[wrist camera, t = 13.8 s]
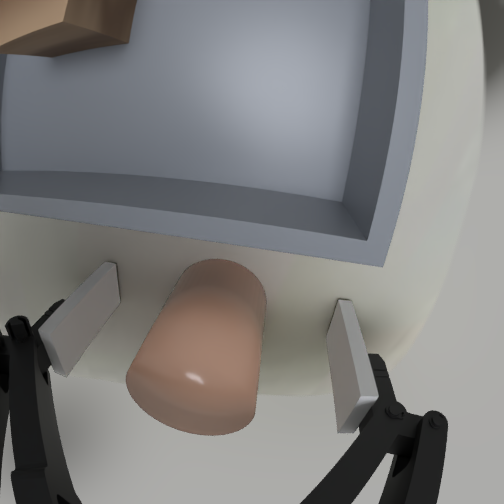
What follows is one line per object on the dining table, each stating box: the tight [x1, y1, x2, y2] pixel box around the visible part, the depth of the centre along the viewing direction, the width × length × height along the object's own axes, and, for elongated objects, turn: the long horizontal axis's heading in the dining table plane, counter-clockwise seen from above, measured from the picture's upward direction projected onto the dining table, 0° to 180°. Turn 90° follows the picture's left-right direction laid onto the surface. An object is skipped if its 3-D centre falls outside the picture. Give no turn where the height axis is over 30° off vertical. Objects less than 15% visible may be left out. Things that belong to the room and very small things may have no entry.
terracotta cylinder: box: [126, 259, 266, 436], centre depth 13 cm, size 5×5×7 cm
